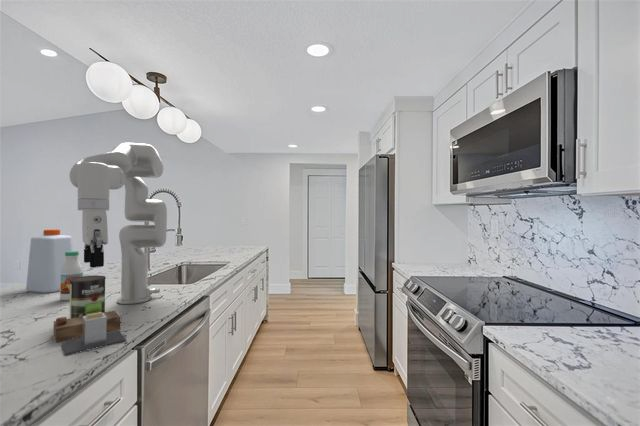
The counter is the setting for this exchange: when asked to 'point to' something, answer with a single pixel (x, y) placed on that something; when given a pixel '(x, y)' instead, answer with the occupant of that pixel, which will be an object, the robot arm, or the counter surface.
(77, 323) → the brown knobbed block
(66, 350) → the rubber mat
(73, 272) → the milk bottle
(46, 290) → the plastic bottle
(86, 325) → the lever cap
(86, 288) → the coffee can
